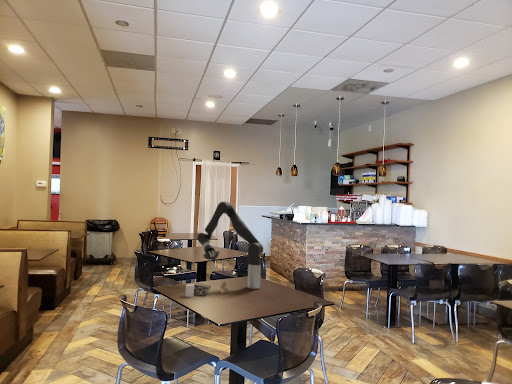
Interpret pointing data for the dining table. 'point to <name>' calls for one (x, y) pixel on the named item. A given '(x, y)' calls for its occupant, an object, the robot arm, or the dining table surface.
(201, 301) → the dining table surface
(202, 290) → the food container
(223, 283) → the birch block
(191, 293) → the grey block
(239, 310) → the dining table surface
